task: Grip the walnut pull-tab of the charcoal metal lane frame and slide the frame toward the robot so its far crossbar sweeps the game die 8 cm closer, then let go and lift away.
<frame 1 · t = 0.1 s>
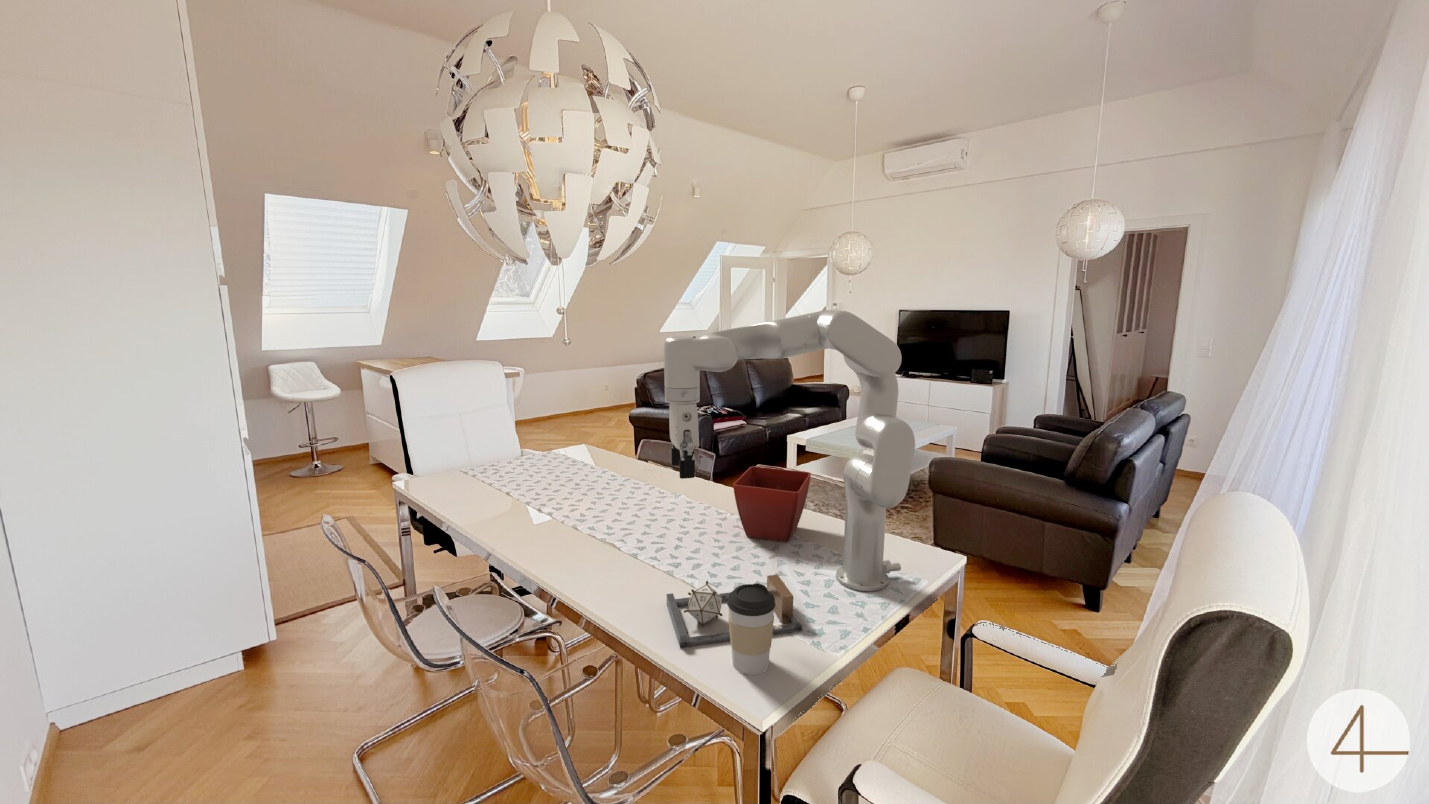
hand: (682, 471, 127), 31 cm above the table, fingers open, 9 cm apart
plant pot: (772, 532, 172), on the table
lane frame: (731, 604, 126), point 3 cm above the table, slide at 0.0 cm
game die: (704, 621, 125), on the table
coffee cup: (750, 664, 111), on the table
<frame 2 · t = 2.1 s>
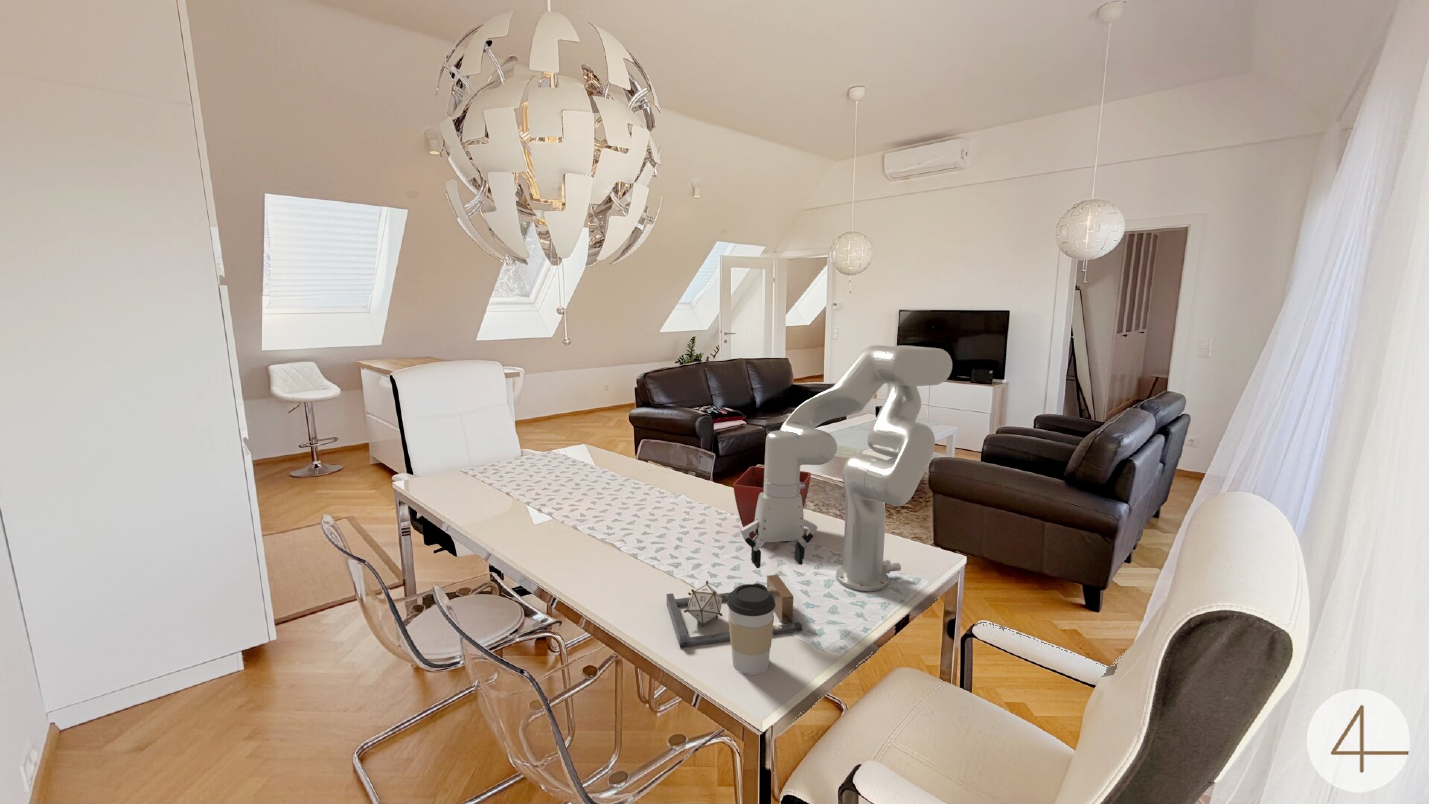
hand: (777, 563, 127), 11 cm above the table, fingers open, 9 cm apart
nothing on the table moved.
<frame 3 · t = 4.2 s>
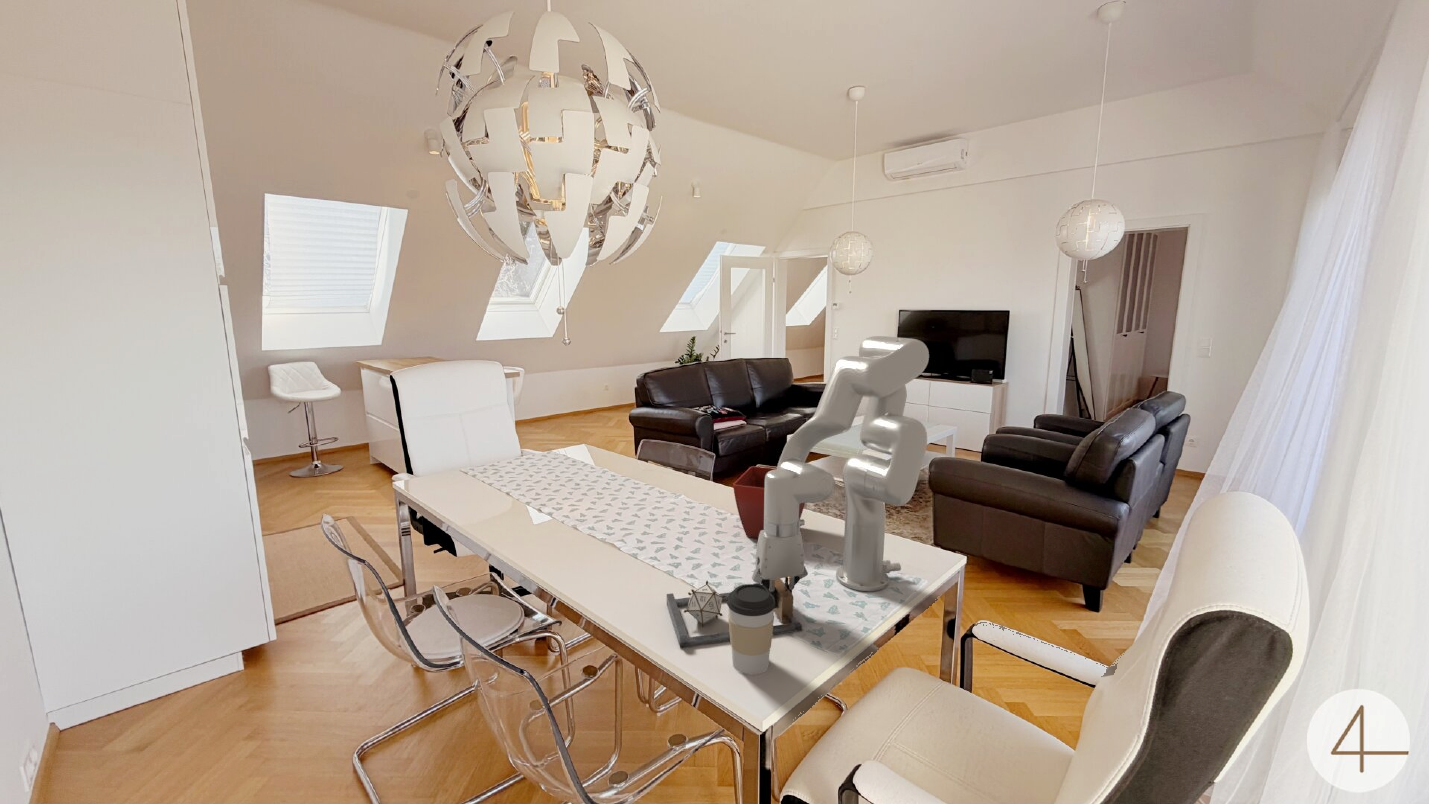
hand: (779, 604, 129), 2 cm above the table, fingers closed on lane frame, 2 cm apart
lane frame: (731, 604, 126), point 3 cm above the table, slide at 0.0 cm, touching gripper
everything else where it was.
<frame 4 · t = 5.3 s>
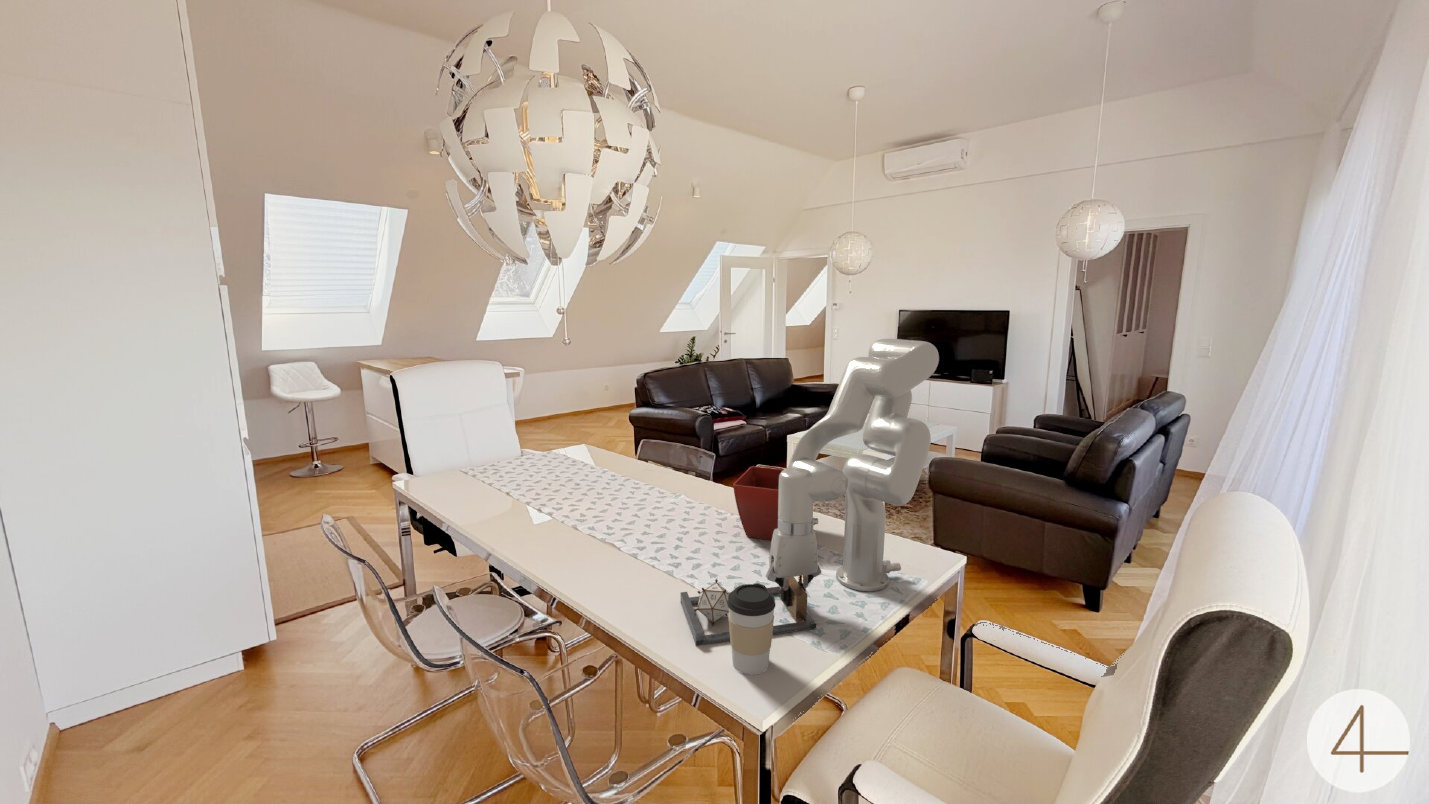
hand: (793, 602, 130), 2 cm above the table, fingers closed on lane frame, 2 cm apart
lane frame: (745, 602, 127), point 3 cm above the table, slide at 3.2 cm, touching game die, gripper
game die: (714, 619, 126), on the table, touching lane frame
everything else where it was.
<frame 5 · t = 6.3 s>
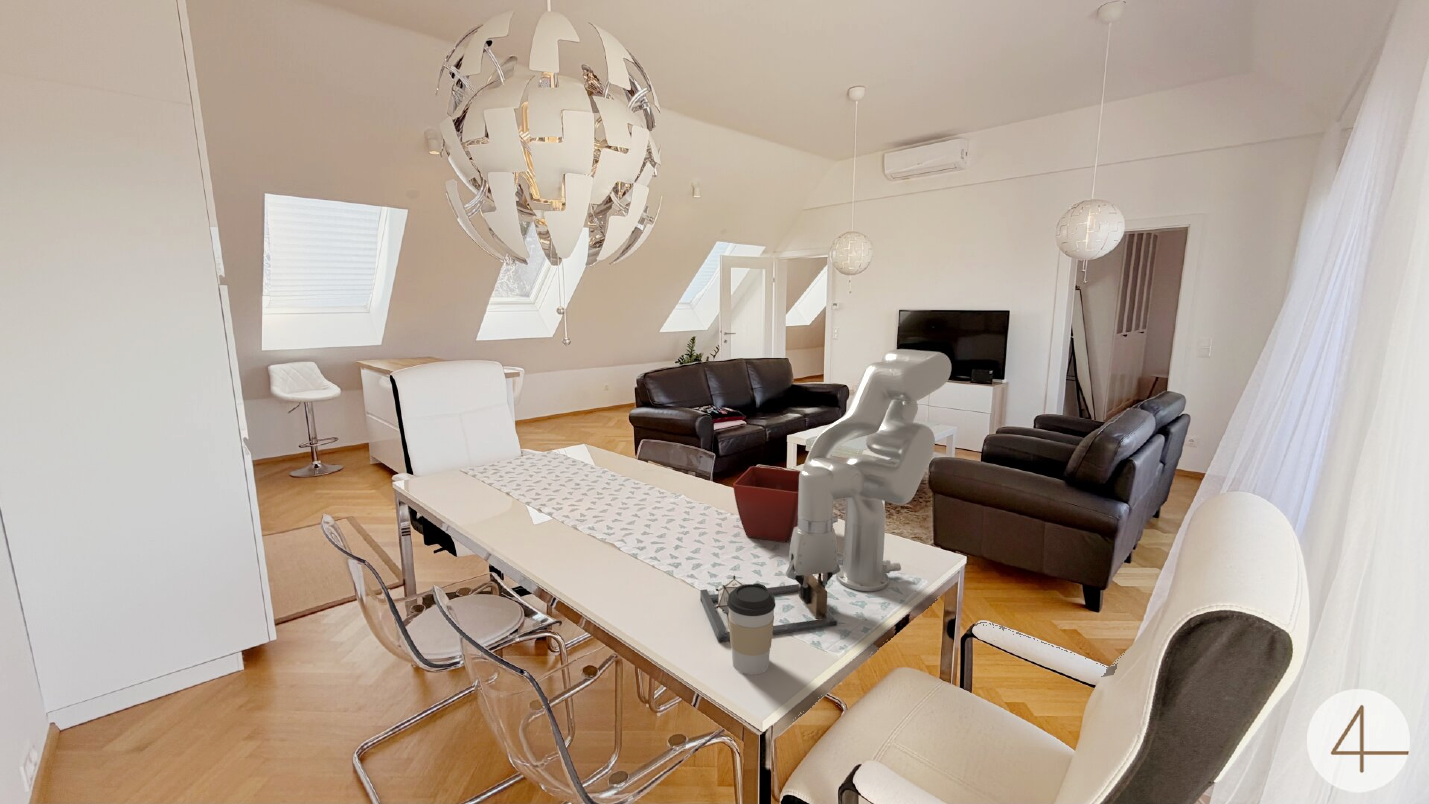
hand: (812, 599, 131), 2 cm above the table, fingers closed on lane frame, 2 cm apart
lane frame: (766, 599, 128), point 3 cm above the table, slide at 7.9 cm, touching game die, gripper
game die: (734, 616, 127), on the table, touching lane frame
everything else where it was.
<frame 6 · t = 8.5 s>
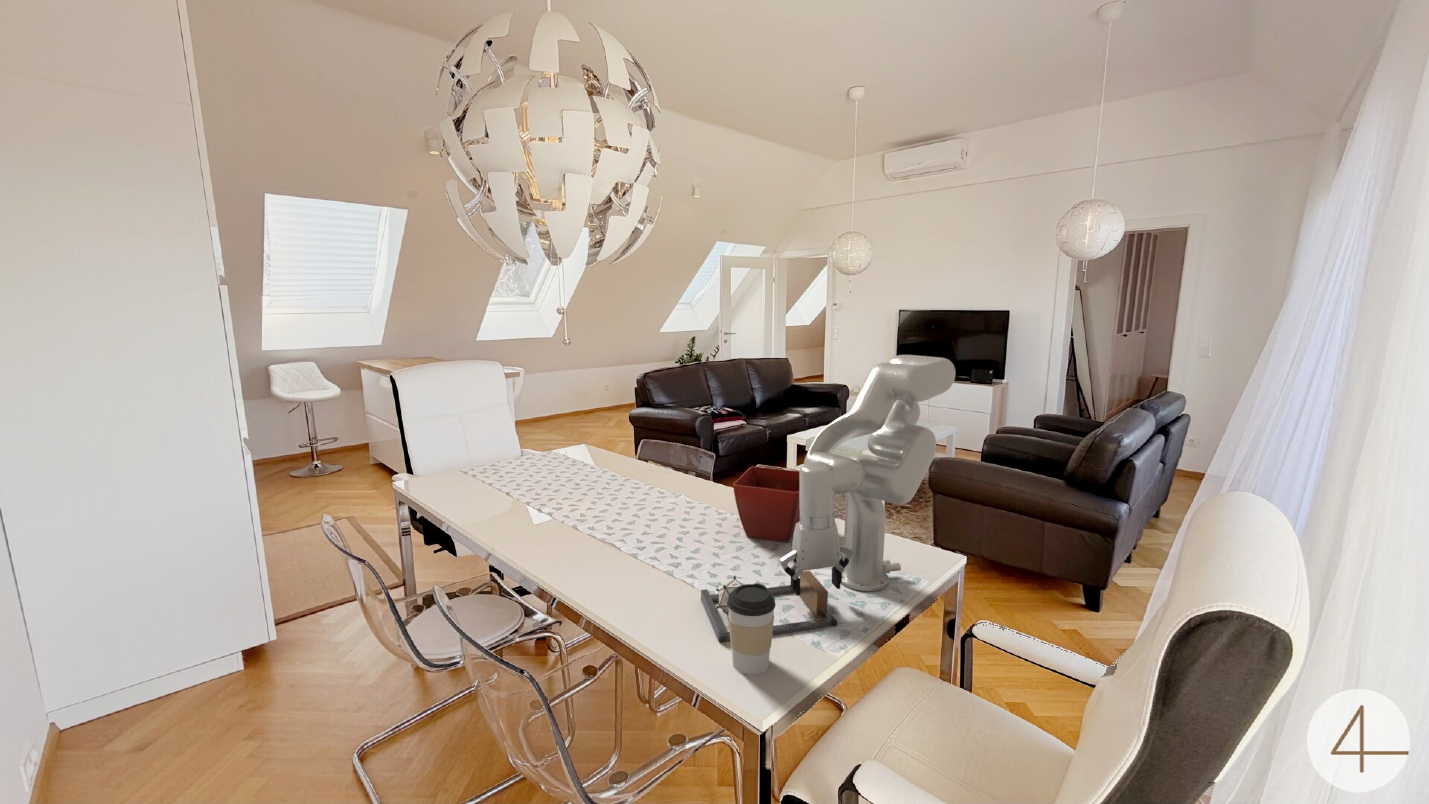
hand: (816, 589, 131), 4 cm above the table, fingers open, 9 cm apart
lane frame: (766, 599, 128), point 3 cm above the table, slide at 8.0 cm
game die: (734, 616, 127), on the table
everything else where it was.
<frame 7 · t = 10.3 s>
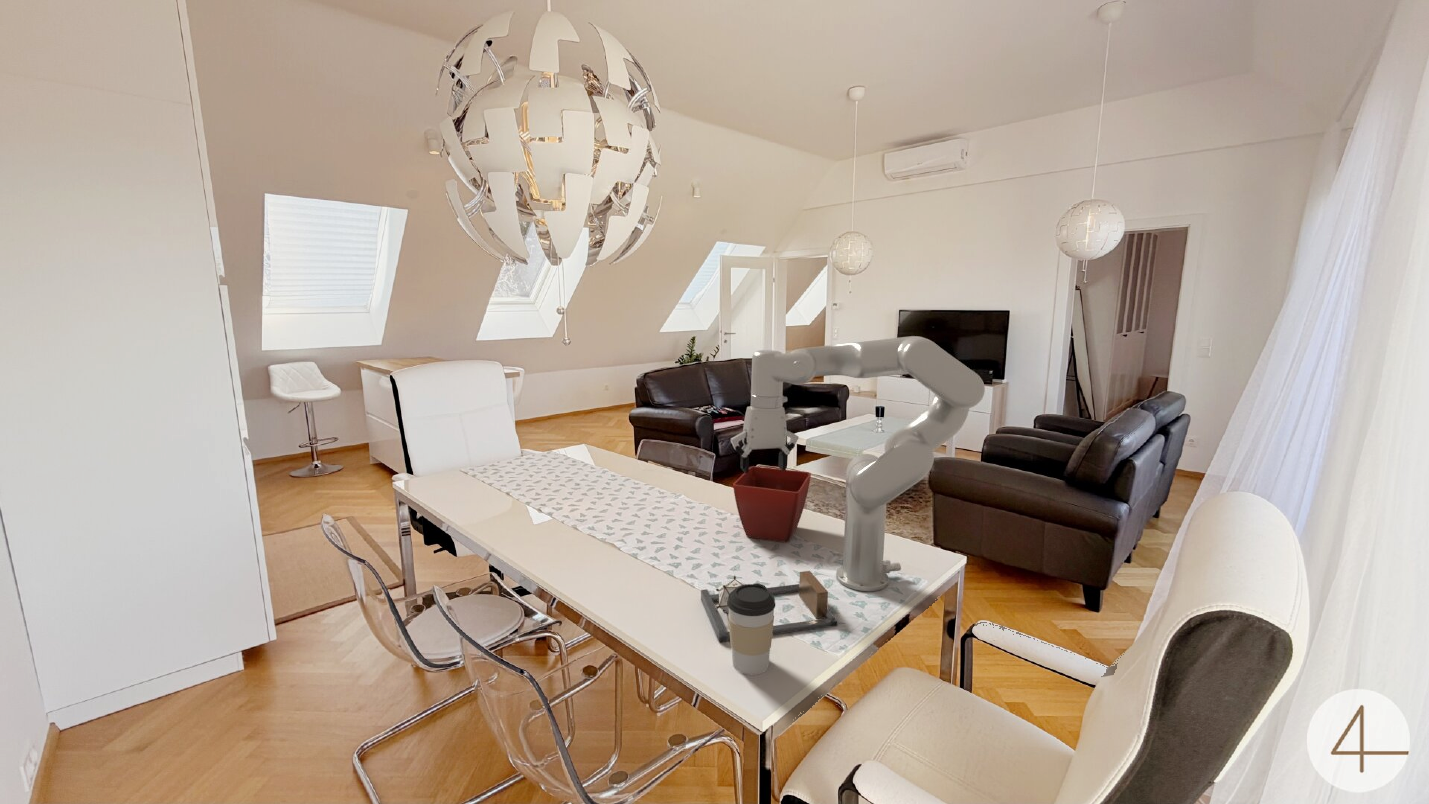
hand: (763, 470, 142), 27 cm above the table, fingers open, 9 cm apart
nothing on the table moved.
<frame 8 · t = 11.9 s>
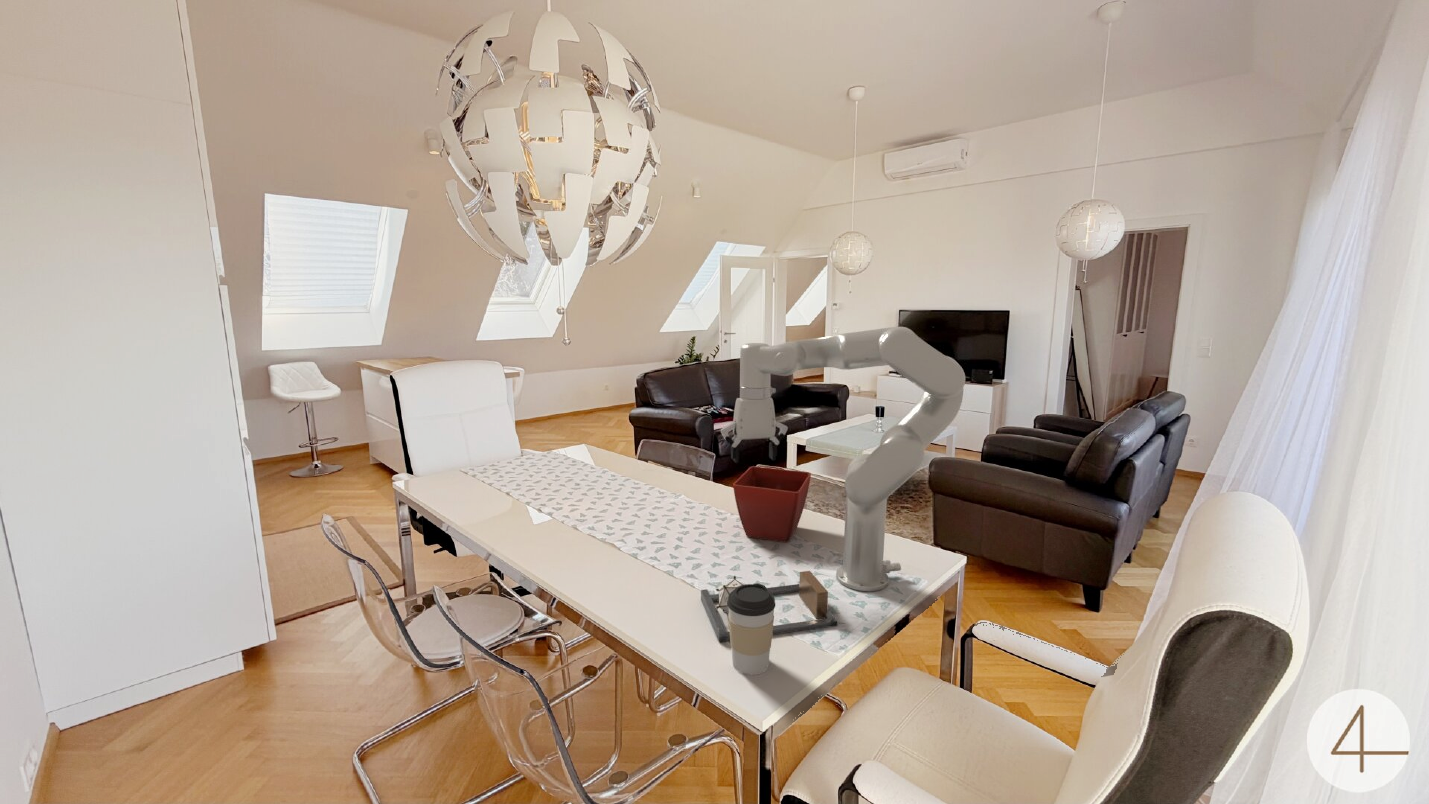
hand: (754, 460, 146), 28 cm above the table, fingers open, 9 cm apart
nothing on the table moved.
at the end: lane frame slide at 8.0 cm; game die inside the target area (1.7 cm from its centre), on the table; game die tilted 0° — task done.
